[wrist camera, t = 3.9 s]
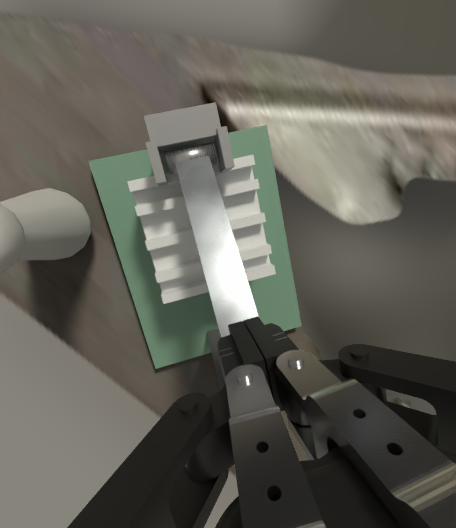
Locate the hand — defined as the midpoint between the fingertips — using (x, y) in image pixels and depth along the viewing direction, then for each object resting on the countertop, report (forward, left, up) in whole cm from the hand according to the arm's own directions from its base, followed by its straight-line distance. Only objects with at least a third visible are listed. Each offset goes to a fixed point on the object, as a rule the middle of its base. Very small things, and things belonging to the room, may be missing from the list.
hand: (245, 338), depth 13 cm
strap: (0, -4, -5) cm, 7 cm away
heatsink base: (0, -2, -16) cm, 16 cm away
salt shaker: (+12, -7, -16) cm, 21 cm away
